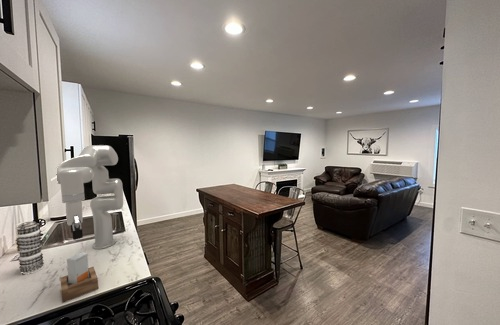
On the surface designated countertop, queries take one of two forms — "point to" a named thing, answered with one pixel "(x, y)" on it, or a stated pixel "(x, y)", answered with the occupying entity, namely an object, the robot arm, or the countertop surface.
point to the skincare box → (77, 268)
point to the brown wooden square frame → (78, 286)
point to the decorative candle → (29, 247)
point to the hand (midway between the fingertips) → (76, 235)
